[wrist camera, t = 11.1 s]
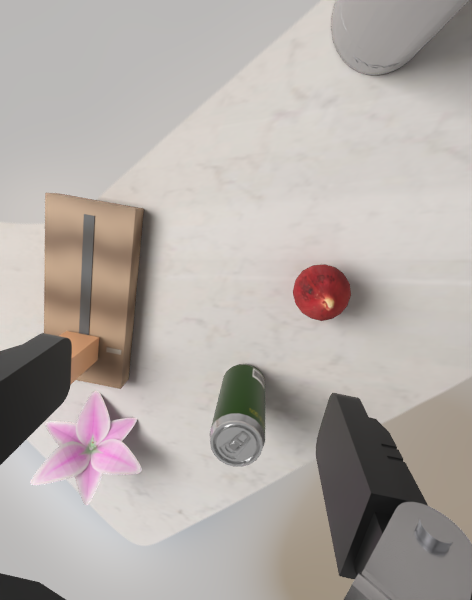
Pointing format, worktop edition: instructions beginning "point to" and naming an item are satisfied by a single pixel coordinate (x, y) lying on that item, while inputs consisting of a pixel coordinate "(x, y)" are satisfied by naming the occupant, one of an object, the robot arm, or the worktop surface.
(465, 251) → the worktop surface
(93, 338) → the fader knob
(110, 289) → the fader base
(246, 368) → the green soda can
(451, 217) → the worktop surface
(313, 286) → the onion
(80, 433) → the lily
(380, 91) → the worktop surface
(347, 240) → the worktop surface
